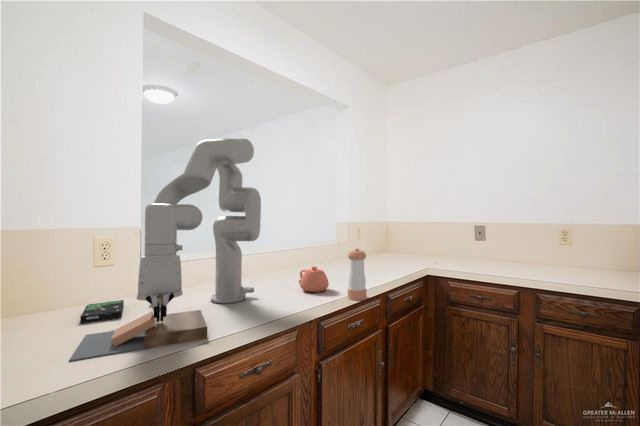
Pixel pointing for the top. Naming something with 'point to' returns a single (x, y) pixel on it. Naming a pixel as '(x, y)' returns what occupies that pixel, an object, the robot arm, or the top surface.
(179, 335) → the block
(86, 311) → the disk drive
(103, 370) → the top surface
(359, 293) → the pepper shaker
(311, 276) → the sugar bowl
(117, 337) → the block
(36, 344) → the top surface
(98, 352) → the mat
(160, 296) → the bird figurine
